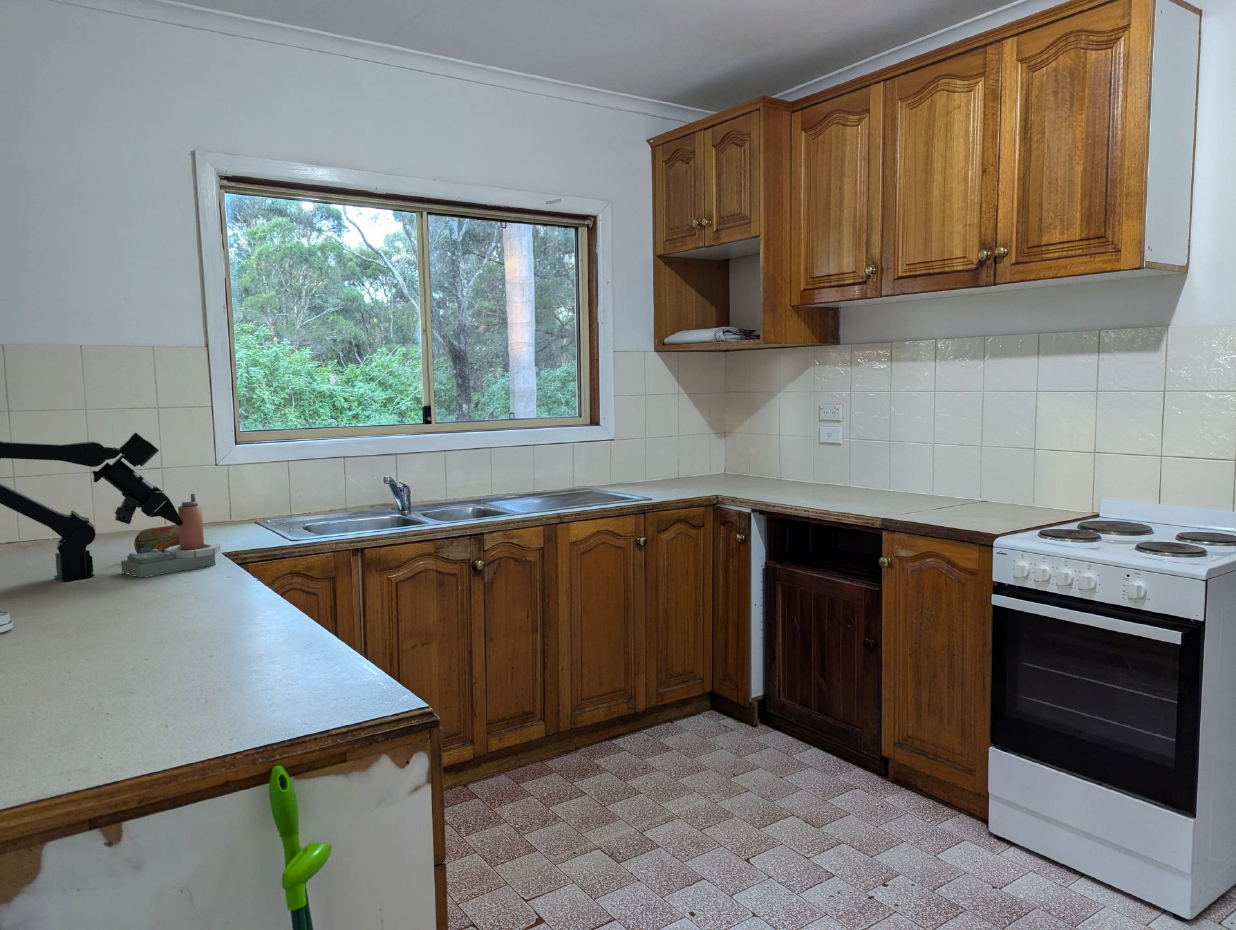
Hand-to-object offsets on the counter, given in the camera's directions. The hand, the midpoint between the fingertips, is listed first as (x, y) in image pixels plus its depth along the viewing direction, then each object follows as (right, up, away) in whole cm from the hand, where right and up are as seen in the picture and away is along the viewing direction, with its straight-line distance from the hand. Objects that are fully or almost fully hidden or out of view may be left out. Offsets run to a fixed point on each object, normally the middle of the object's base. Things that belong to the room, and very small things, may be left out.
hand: (179, 522), depth 214 cm
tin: (-11, -10, +13) cm, 20 cm away
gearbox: (0, -11, -1) cm, 11 cm away
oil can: (+2, -8, +2) cm, 8 cm away
